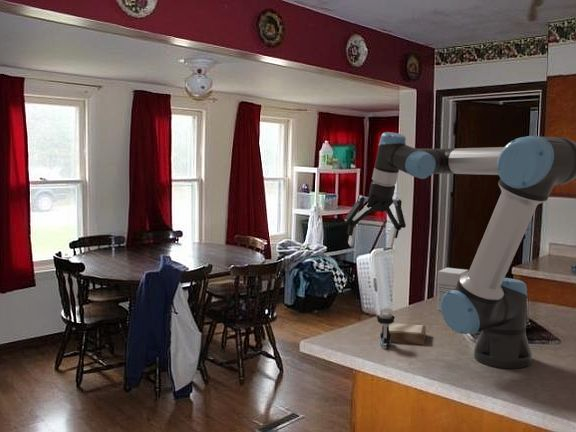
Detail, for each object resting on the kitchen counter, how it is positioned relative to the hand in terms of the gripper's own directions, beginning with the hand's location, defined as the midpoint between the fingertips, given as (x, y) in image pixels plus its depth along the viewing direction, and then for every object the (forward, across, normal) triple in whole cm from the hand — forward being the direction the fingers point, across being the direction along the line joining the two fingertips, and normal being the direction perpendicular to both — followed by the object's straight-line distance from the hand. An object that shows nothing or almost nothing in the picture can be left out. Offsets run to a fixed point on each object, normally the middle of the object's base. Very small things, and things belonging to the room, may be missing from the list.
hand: (370, 245), depth 184 cm
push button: (+24, -2, +21) cm, 32 cm away
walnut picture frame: (+24, -11, +15) cm, 31 cm away
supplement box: (+29, -43, -11) cm, 53 cm away
